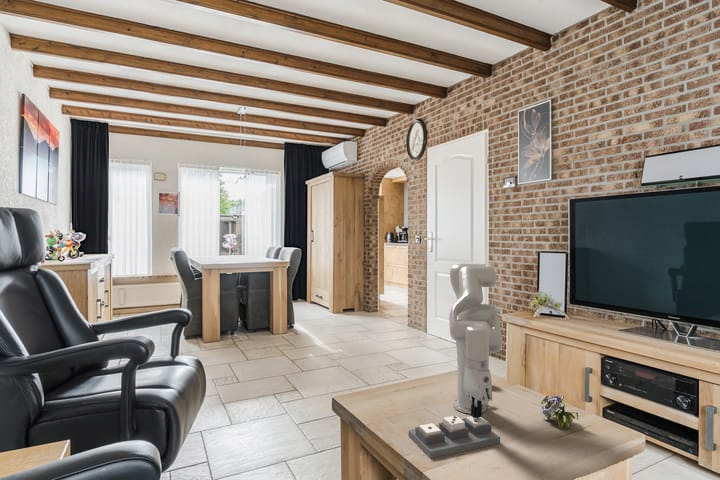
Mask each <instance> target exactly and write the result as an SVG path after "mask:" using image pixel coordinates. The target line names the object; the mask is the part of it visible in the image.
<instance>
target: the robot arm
mask: <svg viewBox="0 0 720 480" xmlns="http://www.w3.org/2000/svg"><path fill="white" fill-rule="evenodd" d="M449 278H450V285H451V287H452V289H453V292H454V294H455V298H456V301H455V302H454V303H453V305H452V307H451V309H450V312H449V318H448V319H449V334H450V337H451V338H452V340H453V341H455V345H456V356H457V357H456V358H457V359H456V360H457V363H456V365H457V370H456V372H457V373H456V378H457V380H456V383H457V384H456V385H457V386H456V394H457V395H456V399H455V400H453V402H452V406H453V408H454V409H455V410H456V411H458V412H461V413H463V414H464V413H465V414H468V415H469V414H470V416H472V417H473V418H479V417H482V416H483V413H486V411H487V406H488V405H489V402H492V401H493V399H494V398H493V383H492V382H493V381H492V374H491V370H490V366H489V362H490V353H491V354H492V353H493V354H495V353H499V352H501V350H502V349H503V336H502V335H503V334H502V330H501V329H502V327H501V321H500V316H499V315H500V314H499V310H498V309H497V307H496V306H495V305H492V304H489V303H487V304H486V303H482V302H483V301H484V294H483V288H493V287H495V286H497V285H496V284H497V280H498V277H497V272H496V270H495V268H494V267H493V266H492V265H491V264H489V263H458V264H454V265H453V266H451V268H450V273H449ZM482 418H483V417H482Z"/></svg>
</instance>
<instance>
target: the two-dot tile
mask: <svg viewBox="0 0 720 480" xmlns="http://www.w3.org/2000/svg"><path fill="white" fill-rule="evenodd" d="M465 418H466V421H468V422H469V423H470V424H472V425H473V426H474V427H476V426H482V425H487V424H488V423H489V421H488V420H486V419H485V418H483V417H479V418H473V417H472V416H471V415H470V416H466V417H465Z"/></svg>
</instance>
